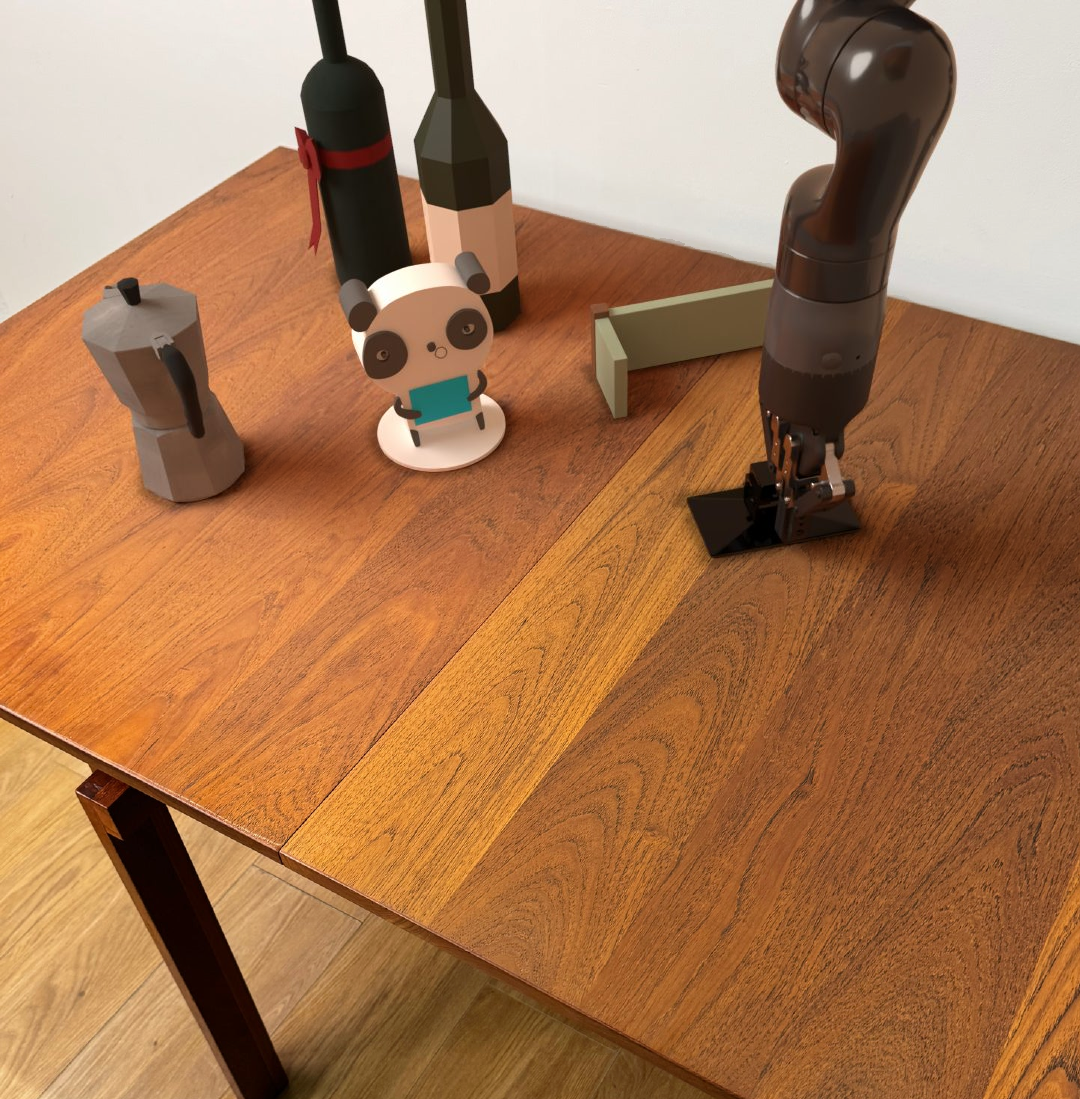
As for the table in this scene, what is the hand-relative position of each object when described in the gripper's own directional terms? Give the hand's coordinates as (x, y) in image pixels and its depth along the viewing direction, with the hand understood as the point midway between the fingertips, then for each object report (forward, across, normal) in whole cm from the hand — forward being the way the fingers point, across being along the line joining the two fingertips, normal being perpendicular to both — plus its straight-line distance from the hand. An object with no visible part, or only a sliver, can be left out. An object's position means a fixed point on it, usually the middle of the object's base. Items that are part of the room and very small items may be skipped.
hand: (790, 534), depth 90 cm
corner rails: (+1, +22, 0) cm, 23 cm away
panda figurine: (+2, +23, +24) cm, 33 cm away
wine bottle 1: (+1, +50, +27) cm, 56 cm away
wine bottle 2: (+1, +40, +17) cm, 43 cm away
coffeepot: (+2, +23, +45) cm, 50 cm away
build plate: (+2, +4, 0) cm, 4 cm away
